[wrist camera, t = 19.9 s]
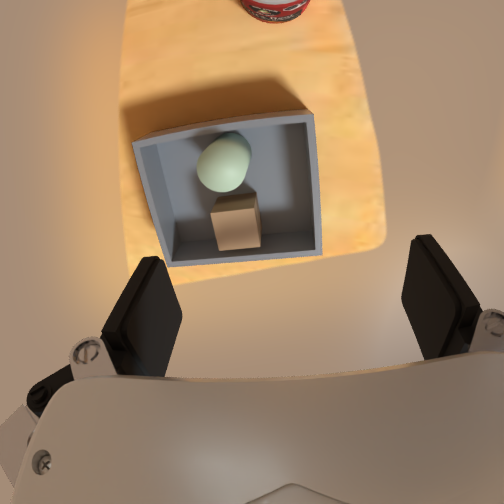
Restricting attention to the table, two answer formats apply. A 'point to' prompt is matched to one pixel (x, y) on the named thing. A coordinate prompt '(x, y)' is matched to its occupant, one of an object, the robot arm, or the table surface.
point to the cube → (237, 221)
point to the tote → (256, 180)
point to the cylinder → (224, 162)
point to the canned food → (275, 9)
